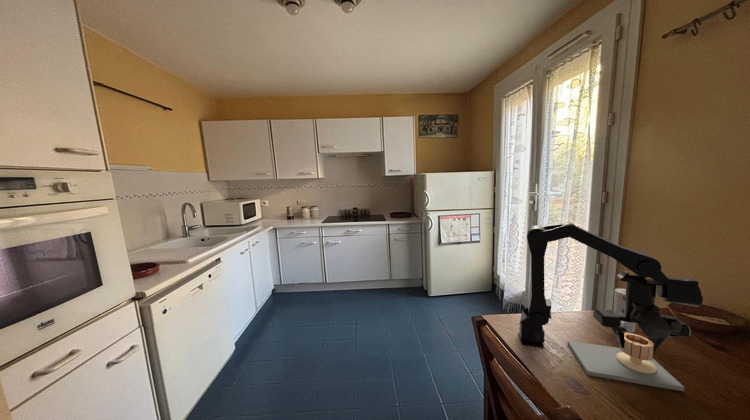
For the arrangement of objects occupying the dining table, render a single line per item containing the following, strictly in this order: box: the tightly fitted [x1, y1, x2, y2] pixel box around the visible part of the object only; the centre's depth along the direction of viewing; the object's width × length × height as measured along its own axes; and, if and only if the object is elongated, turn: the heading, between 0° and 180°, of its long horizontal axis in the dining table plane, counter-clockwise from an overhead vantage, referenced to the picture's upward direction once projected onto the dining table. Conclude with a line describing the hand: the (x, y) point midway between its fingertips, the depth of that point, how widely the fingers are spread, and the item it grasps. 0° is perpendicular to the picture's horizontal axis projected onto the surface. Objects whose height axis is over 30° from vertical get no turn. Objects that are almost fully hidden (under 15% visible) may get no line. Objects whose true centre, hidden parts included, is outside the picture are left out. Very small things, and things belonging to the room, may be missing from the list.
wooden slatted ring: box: [619, 333, 654, 361], centre depth 71 cm, size 6×6×4 cm
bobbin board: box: [567, 340, 685, 392], centre depth 73 cm, size 20×14×7 cm
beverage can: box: [612, 288, 636, 334], centre depth 88 cm, size 6×6×15 cm
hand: (636, 349), depth 71 cm, fingers closed on wooden slatted ring, 6 cm apart
